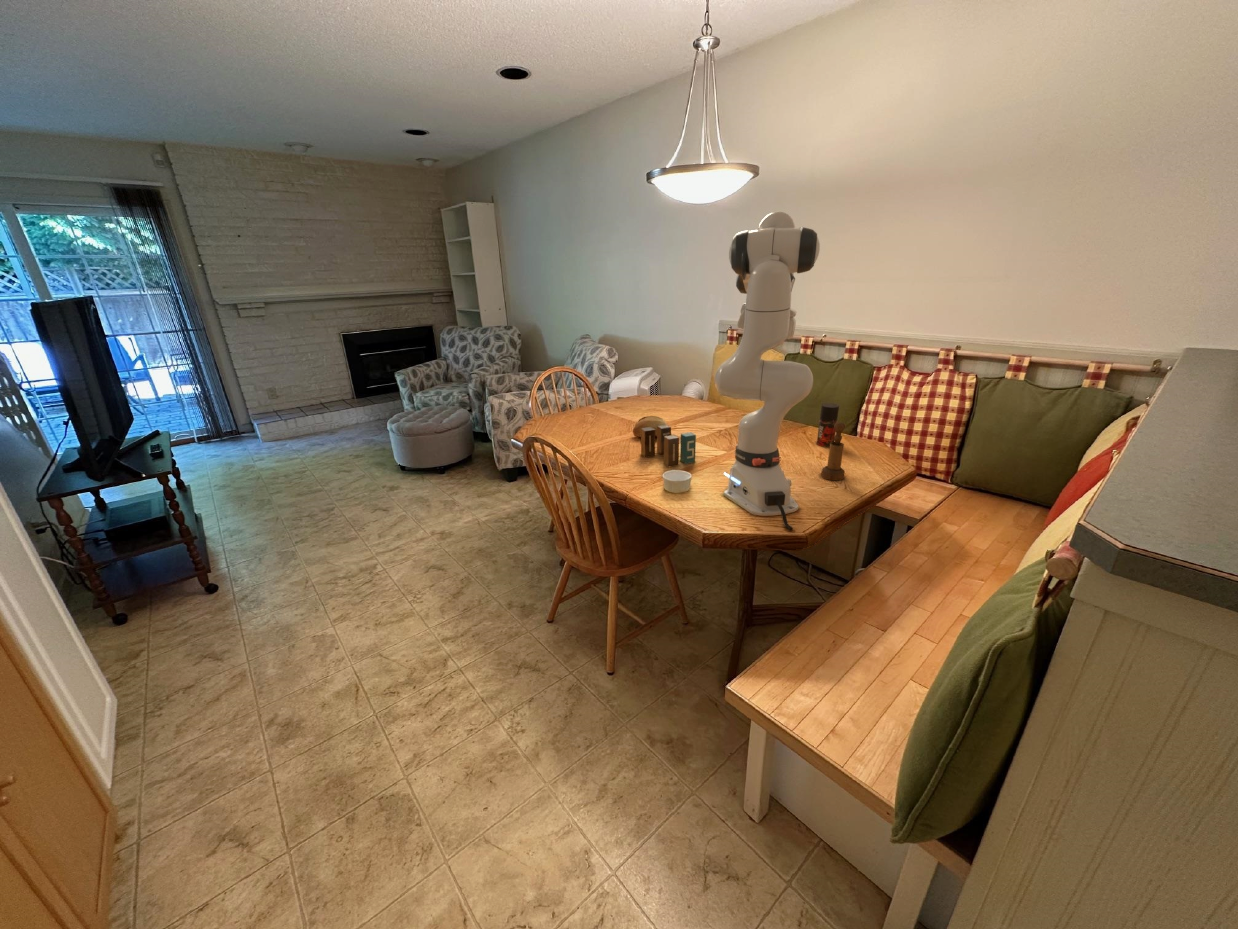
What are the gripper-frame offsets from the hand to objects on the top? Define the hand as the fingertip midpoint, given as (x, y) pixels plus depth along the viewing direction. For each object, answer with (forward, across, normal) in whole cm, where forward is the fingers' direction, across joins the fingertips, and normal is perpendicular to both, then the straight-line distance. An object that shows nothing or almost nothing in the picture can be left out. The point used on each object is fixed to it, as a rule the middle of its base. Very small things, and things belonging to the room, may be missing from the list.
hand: (760, 346), depth 176 cm
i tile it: (+43, -23, -31) cm, 58 cm away
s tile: (+40, -8, -32) cm, 51 cm away
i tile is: (+41, -12, -37) cm, 56 cm away
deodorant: (+30, +32, +5) cm, 45 cm away
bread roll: (+43, -31, -10) cm, 54 cm away
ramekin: (+40, -3, -54) cm, 68 cm away
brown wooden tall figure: (+31, +38, -27) cm, 56 cm away
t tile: (+42, -19, -26) cm, 53 cm away
